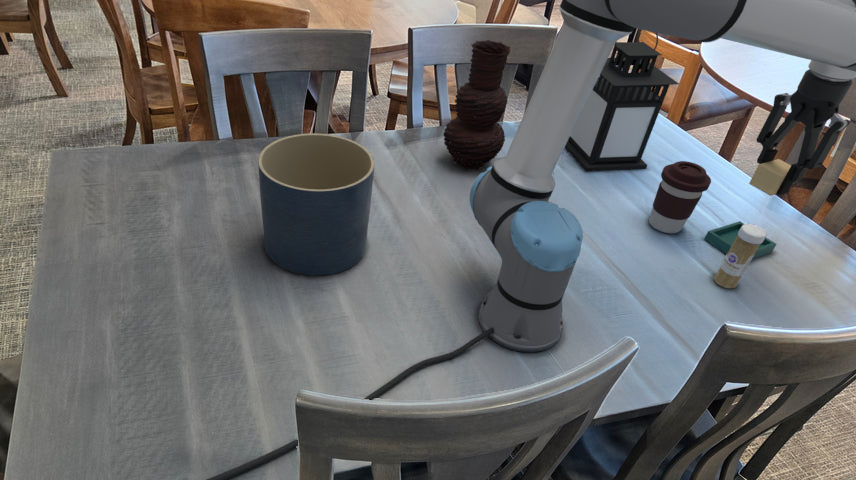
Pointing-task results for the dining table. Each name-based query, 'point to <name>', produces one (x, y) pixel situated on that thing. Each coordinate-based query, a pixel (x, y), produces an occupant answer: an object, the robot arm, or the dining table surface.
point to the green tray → (727, 236)
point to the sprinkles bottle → (740, 255)
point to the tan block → (770, 176)
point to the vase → (479, 109)
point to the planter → (315, 202)
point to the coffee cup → (678, 195)
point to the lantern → (620, 111)
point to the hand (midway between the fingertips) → (769, 185)
